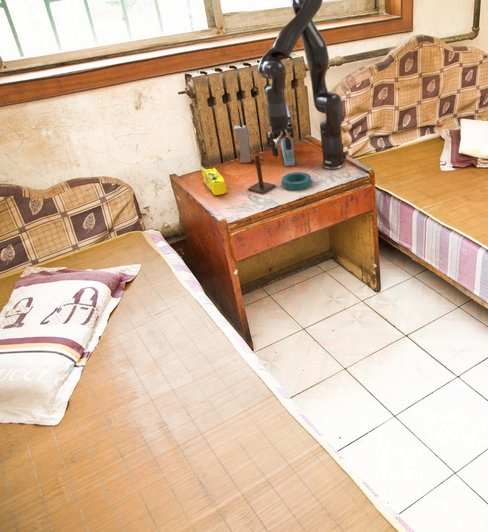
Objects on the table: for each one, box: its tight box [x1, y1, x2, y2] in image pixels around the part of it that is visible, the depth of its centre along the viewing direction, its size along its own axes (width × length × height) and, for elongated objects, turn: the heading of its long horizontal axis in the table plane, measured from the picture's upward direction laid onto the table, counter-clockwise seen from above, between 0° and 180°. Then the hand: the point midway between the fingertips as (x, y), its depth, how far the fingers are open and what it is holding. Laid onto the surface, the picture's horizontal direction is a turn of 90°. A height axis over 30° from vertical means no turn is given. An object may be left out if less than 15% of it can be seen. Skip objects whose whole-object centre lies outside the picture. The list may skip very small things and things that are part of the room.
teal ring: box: [281, 171, 312, 192], centre depth 233 cm, size 12×12×3 cm
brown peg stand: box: [247, 153, 276, 195], centre depth 227 cm, size 8×8×15 cm
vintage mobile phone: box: [233, 108, 252, 164], centre depth 249 cm, size 4×5×25 cm
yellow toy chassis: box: [201, 166, 228, 196], centre depth 229 cm, size 16×6×8 cm, turn 31°
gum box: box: [280, 103, 296, 167], centre depth 252 cm, size 20×5×23 cm, turn 13°
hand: (282, 152), depth 221 cm, fingers open, 8 cm apart
